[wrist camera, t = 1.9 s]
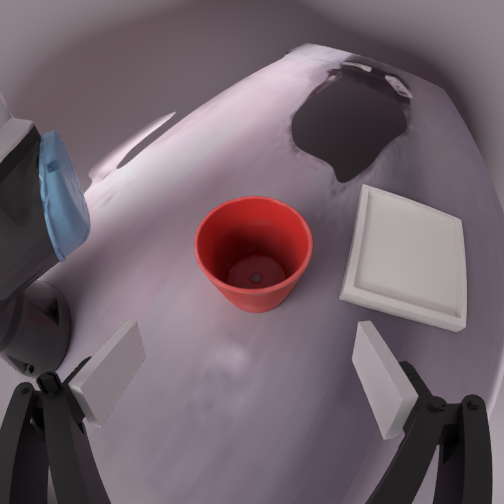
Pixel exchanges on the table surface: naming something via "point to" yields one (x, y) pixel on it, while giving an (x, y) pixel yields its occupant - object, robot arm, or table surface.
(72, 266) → the table surface
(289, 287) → the flower pot
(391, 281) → the drip tray
